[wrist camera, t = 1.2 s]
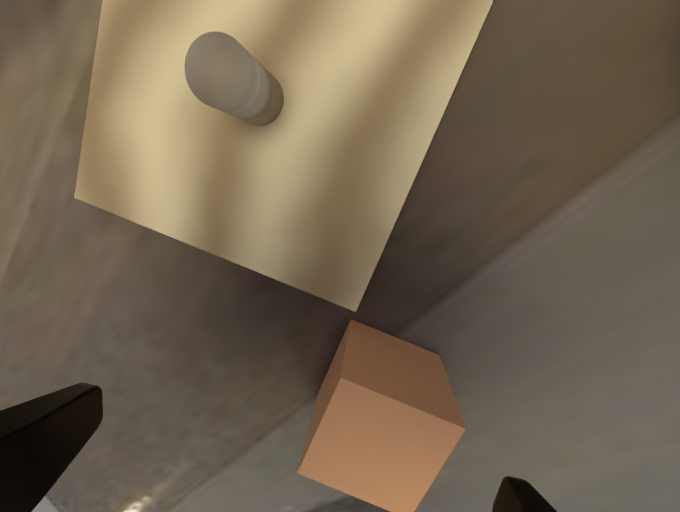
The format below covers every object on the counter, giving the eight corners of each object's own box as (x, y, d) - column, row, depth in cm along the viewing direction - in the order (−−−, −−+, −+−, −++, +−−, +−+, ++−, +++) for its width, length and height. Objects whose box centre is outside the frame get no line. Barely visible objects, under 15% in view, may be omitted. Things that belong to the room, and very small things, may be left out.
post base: (500, -23, 15) (570, -133, 10) (356, 305, 20) (349, 353, 14) (145, -164, 15) (19, -351, 10) (88, 196, 20) (-16, 204, 14)
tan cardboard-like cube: (439, 354, 20) (465, 428, 14) (400, 426, 22) (409, 519, 16) (350, 319, 20) (340, 377, 14) (318, 393, 22) (297, 473, 16)
